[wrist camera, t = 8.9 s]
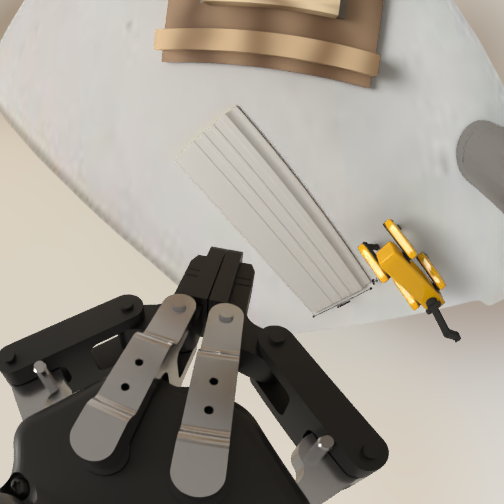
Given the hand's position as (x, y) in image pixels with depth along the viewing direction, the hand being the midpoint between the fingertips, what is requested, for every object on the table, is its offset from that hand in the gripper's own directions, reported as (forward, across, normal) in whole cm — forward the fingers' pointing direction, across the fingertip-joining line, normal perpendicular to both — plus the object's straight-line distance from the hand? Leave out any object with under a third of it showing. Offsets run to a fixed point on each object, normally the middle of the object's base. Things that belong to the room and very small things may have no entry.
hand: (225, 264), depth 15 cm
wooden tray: (+25, +2, -18) cm, 31 cm away
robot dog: (+25, -22, +12) cm, 36 cm away
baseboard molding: (+26, -4, +10) cm, 28 cm away
